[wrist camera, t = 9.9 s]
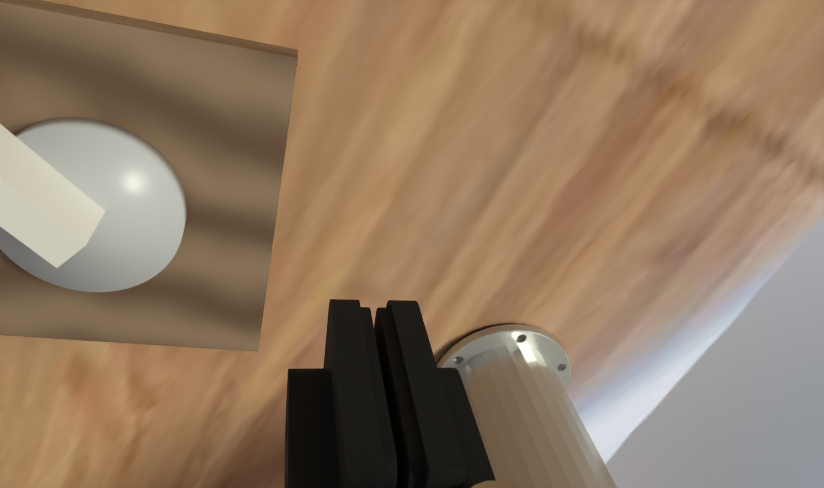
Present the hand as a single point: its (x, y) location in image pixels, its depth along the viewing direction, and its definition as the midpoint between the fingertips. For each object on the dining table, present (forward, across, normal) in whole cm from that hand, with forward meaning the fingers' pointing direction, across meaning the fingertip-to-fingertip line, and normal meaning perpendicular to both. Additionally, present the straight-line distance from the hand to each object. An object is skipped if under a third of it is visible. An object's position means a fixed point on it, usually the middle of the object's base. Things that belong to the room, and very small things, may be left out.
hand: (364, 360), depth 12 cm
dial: (+27, +15, +9) cm, 32 cm away
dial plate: (+29, +13, +11) cm, 34 cm away
